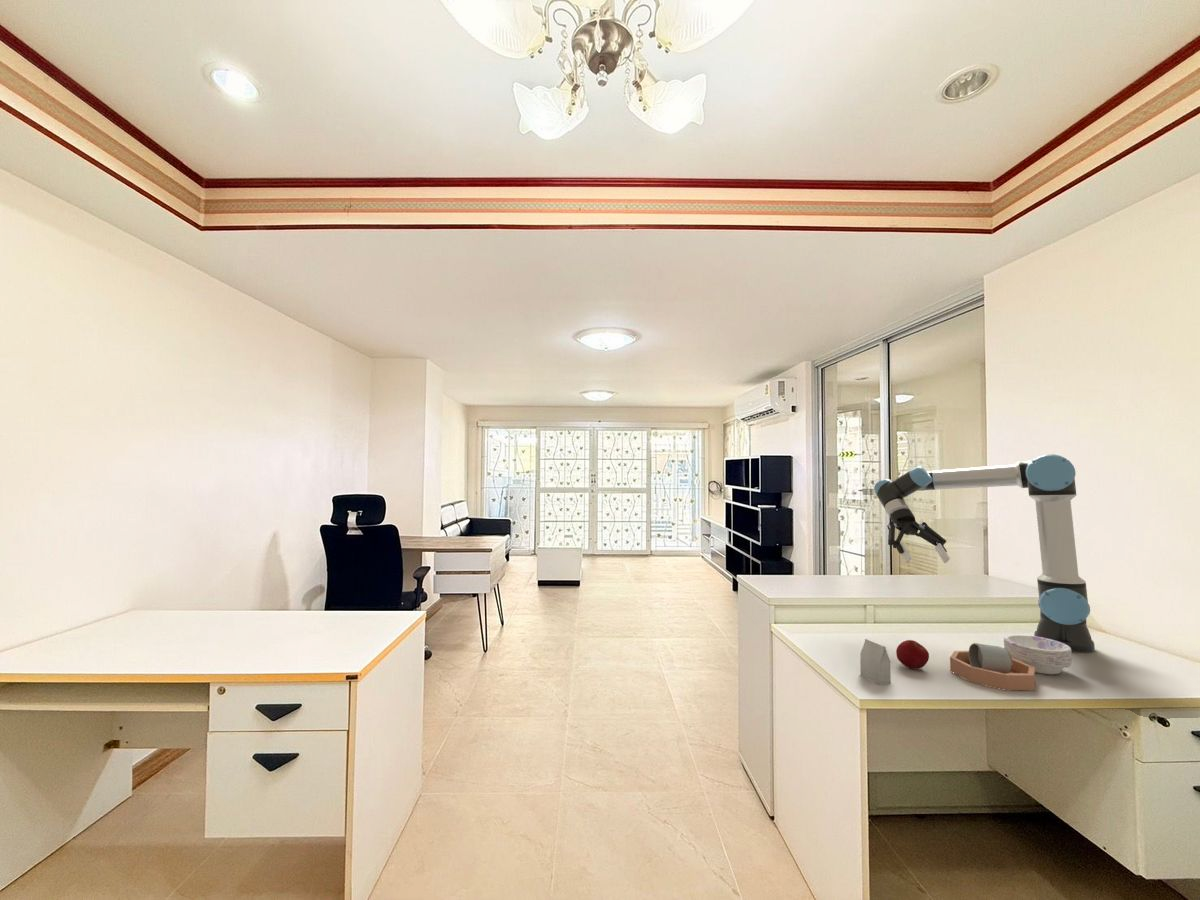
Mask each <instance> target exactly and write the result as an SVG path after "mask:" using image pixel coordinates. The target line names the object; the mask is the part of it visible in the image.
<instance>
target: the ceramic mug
mask: <svg viewBox="0 0 1200 900" xmlns="http://www.w3.org/2000/svg"><path fill="white" fill-rule="evenodd" d="M968 651H969V660H970V663H971V666H973V667H977V668H982V669H986V670H991V671H995V672H1000V673H1009V672H1010V671H1011V670H1012V668H1013V660H1012V657H1011V655H1010V653H1009V652H1008V651H1007V650H1006V649H1005V648H1004V647H1002V646H998V645H990V644H984V643H979V642H978V643H977V642H973V643H971V644H970V646H969V648H968Z"/></svg>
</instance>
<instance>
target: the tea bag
mask: <svg viewBox="0 0 1200 900" xmlns="http://www.w3.org/2000/svg"><path fill="white" fill-rule="evenodd" d="M886 648H887V647H886V646H885V645H882V644H879V643H877V642H876V641H875V642H874V641H873V640H870V639H867V638H865V639H864V642H863V645H862V649H861V650H860V656H859V658H860V659H859V660H860V663H859V665H860V676H861V677H863V678H865V679H867V680H869V681H871V682H874V683H876V684H877V685H880V686H881V685H889V684H891V681H892V680H891V679H892V677H891V659H890V657H889V654H888V651H887V649H886Z"/></svg>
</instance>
